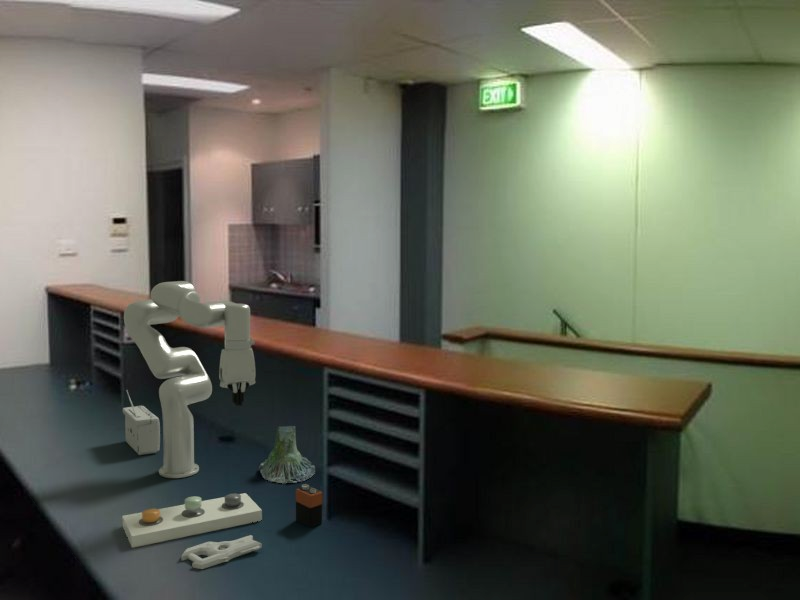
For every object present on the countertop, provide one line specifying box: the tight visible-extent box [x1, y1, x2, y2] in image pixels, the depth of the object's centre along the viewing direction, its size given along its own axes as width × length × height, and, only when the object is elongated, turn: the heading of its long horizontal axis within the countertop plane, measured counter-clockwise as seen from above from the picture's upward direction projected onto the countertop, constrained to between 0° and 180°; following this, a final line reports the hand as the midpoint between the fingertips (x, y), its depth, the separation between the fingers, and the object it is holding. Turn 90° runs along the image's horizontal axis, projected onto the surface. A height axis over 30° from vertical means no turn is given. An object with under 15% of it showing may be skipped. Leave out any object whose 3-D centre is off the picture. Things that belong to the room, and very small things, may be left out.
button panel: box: [121, 492, 263, 549], centre depth 187 cm, size 14×34×3 cm, turn 121°
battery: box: [295, 483, 323, 528], centre depth 190 cm, size 4×7×10 cm, turn 46°
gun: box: [180, 534, 263, 570], centre depth 170 cm, size 18×3×10 cm
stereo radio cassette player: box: [122, 389, 161, 456], centre depth 250 cm, size 21×8×20 cm, turn 35°
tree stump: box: [258, 425, 316, 485], centre depth 228 cm, size 18×20×18 cm
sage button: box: [184, 495, 202, 510], centre depth 187 cm, size 4×4×2 cm
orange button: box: [141, 507, 160, 523], centre depth 182 cm, size 4×4×2 cm
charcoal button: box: [224, 493, 241, 507], centre depth 193 cm, size 4×4×2 cm
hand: (237, 404), depth 209 cm, fingers closed
